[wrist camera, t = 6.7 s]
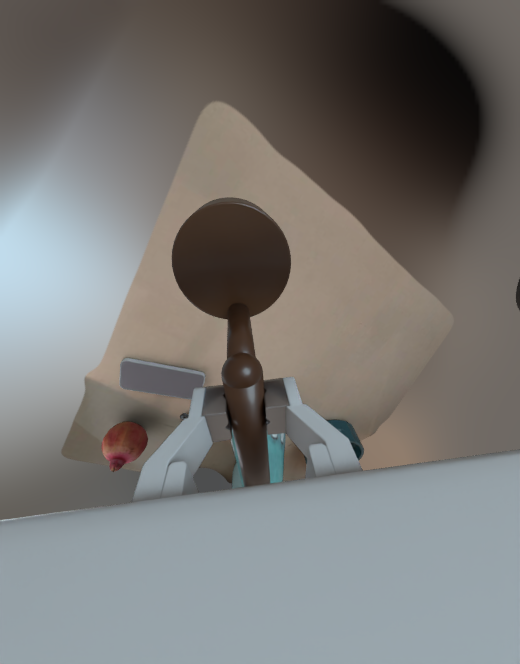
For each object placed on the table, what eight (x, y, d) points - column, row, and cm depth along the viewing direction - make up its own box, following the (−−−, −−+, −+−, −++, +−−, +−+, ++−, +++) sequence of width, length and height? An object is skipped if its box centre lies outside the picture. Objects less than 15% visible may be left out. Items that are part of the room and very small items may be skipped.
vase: (226, 423, 55) (224, 514, 40) (233, 388, 49) (234, 481, 34) (273, 425, 57) (288, 513, 42) (286, 392, 51) (308, 481, 36)
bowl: (341, 410, 56) (352, 432, 51) (360, 436, 64) (371, 458, 59) (290, 433, 59) (296, 456, 54) (313, 456, 67) (320, 478, 62)
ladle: (170, 201, 12) (84, 231, 5) (280, 193, 13) (347, 211, 5) (222, 419, 23) (217, 532, 16) (282, 411, 23) (305, 518, 16)
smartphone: (120, 359, 41) (206, 375, 44) (122, 355, 41) (206, 371, 45) (119, 388, 44) (198, 400, 48) (121, 385, 45) (199, 397, 49)
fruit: (155, 433, 54) (141, 479, 46) (119, 435, 53) (98, 483, 45) (148, 410, 50) (131, 457, 41) (108, 413, 49) (82, 460, 41)
